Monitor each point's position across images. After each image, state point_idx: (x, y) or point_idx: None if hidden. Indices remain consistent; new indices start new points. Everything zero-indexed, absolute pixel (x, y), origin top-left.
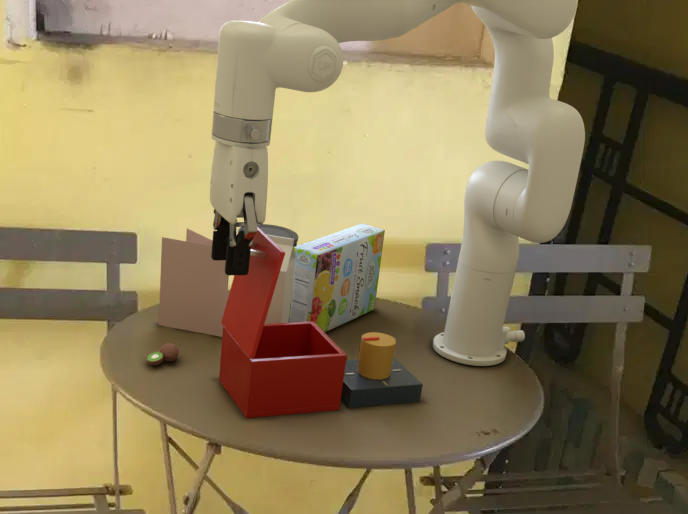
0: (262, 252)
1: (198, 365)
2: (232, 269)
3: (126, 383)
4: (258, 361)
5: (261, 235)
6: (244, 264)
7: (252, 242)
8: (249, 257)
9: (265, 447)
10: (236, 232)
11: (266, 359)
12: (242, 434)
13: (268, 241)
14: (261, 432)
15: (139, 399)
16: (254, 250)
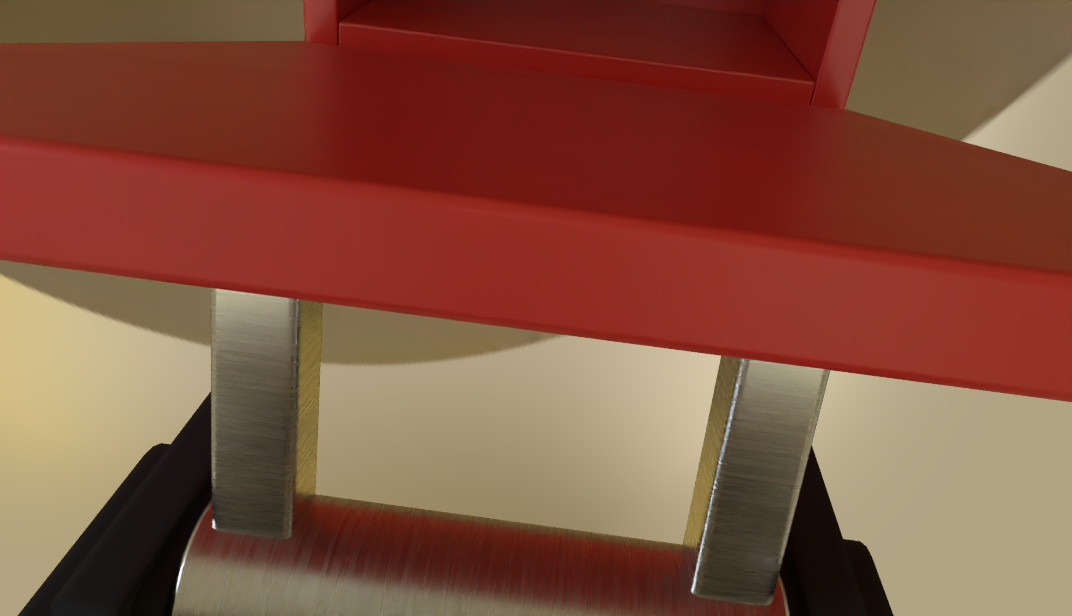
0: (810, 375)
1: (228, 18)
2: None
3: (357, 346)
4: (853, 75)
5: (335, 294)
6: (873, 590)
7: (271, 303)
8: (847, 571)
9: (1036, 80)
10: (117, 604)
11: (856, 13)
12: (891, 121)
13: (818, 363)
14: (918, 34)
15: (488, 352)
16: (756, 506)
